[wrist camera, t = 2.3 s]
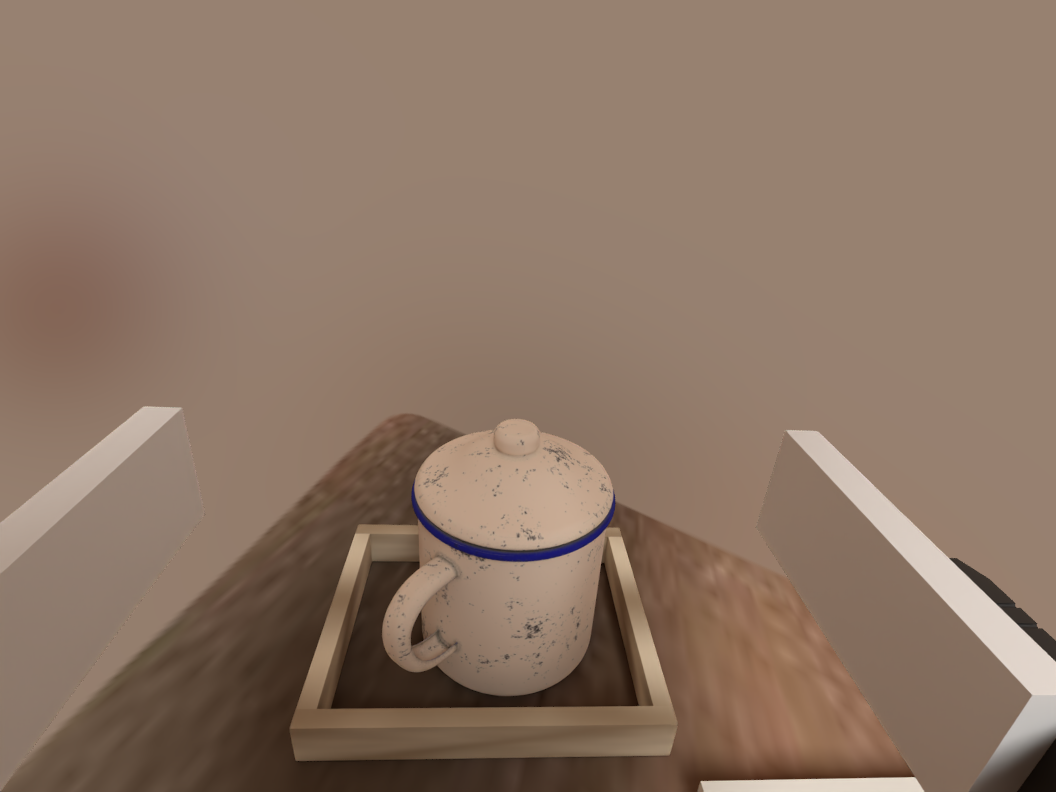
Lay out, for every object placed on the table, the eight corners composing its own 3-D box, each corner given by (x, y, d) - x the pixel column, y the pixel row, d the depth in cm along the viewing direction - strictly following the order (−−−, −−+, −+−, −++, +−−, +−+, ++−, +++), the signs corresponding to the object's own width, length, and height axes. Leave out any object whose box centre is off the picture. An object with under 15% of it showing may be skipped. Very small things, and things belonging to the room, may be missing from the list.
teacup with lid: (496, 541, 35) (503, 367, 30) (627, 616, 30) (661, 424, 25) (328, 671, 26) (298, 457, 21) (475, 806, 22) (481, 570, 17)
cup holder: (669, 755, 24) (678, 724, 23) (295, 760, 23) (289, 728, 22) (615, 554, 35) (619, 527, 34) (360, 551, 34) (358, 524, 33)
